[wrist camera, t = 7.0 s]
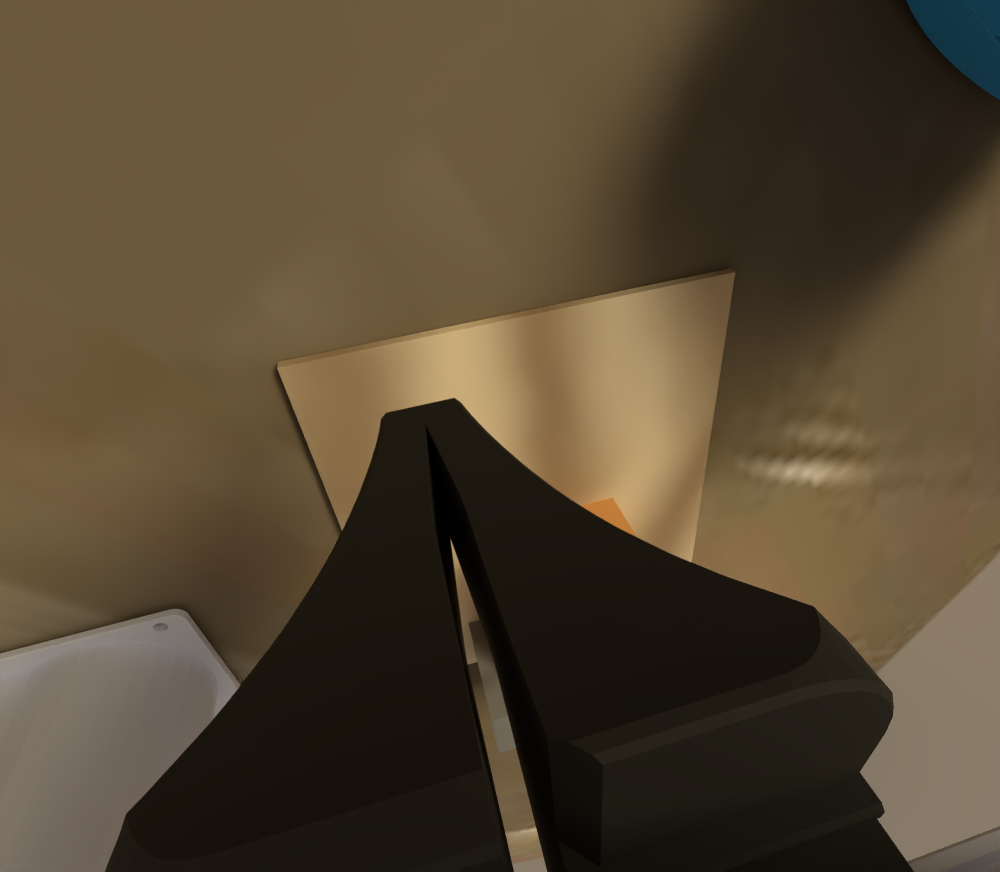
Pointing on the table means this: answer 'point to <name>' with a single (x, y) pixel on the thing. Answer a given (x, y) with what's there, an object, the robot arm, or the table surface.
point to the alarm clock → (965, 36)
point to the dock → (544, 409)
